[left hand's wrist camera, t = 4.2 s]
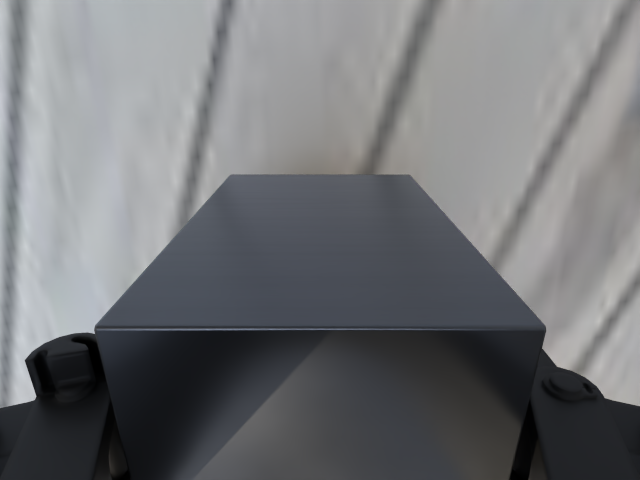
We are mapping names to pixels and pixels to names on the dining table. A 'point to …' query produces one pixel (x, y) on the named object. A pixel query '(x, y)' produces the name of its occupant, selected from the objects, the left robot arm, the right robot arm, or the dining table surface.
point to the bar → (320, 341)
